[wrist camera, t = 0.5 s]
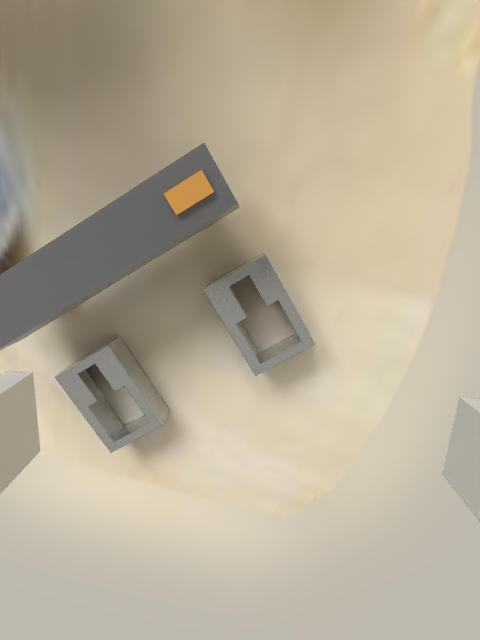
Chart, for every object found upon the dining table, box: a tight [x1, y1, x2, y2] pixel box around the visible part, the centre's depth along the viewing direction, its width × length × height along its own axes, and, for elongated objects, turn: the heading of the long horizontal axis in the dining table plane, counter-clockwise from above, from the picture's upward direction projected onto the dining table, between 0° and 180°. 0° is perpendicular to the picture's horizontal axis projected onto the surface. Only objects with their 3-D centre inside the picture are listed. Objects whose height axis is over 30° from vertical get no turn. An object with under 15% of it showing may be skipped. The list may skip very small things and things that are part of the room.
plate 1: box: [55, 337, 170, 453], centre depth 35 cm, size 9×6×3 cm, turn 30°
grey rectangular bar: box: [0, 143, 239, 350], centre depth 29 cm, size 4×22×8 cm, turn 120°
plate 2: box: [204, 253, 315, 376], centre depth 33 cm, size 9×6×3 cm, turn 30°
